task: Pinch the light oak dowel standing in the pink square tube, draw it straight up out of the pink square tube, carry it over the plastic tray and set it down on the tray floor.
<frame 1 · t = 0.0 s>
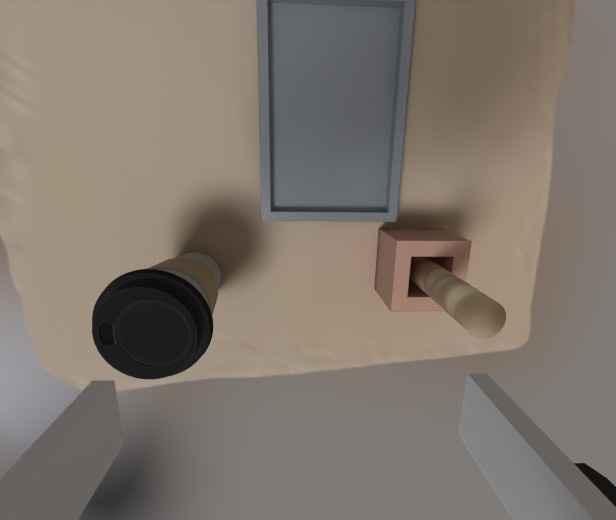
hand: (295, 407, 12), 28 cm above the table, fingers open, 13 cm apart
coffee cup: (198, 274, 40), on the table
pink square tube: (407, 259, 41), on the table
tray: (330, 117, 36), on the table
dowel: (409, 261, 40), point 1 cm above the table, touching pink square tube
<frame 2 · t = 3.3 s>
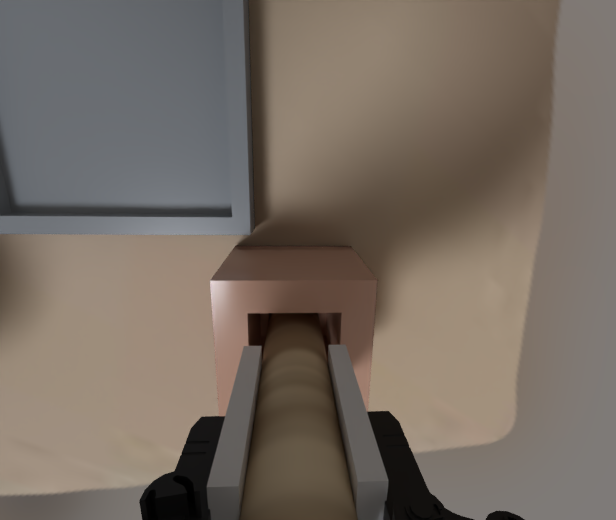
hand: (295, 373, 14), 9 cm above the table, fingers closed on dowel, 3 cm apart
pink square tube: (293, 300, 23), on the table
tray: (110, 27, 18), on the table
dowel: (293, 306, 22), point 1 cm above the table, touching gripper
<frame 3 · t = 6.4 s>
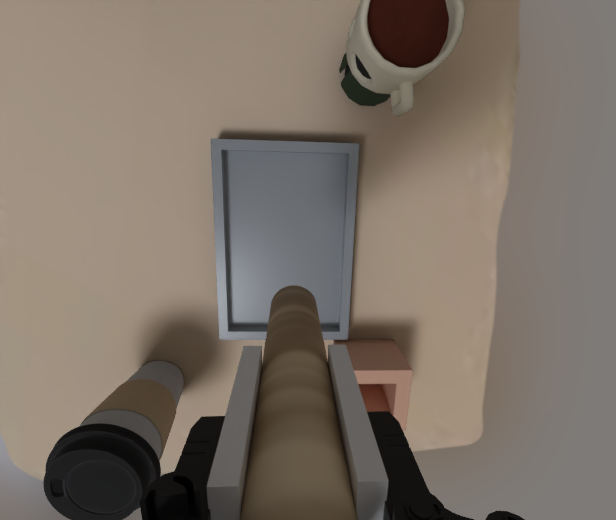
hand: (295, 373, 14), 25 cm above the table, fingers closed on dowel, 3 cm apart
character mug: (368, 75, 35), on the table
coffee cup: (162, 379, 42), on the table
pink square tube: (361, 365, 43), on the table
tray: (285, 243, 38), on the table
dowel: (293, 306, 22), point 17 cm above the table, touching gripper
when the fingers open (9 cm above the table, at t = 9.9 s): dowel drops 2 cm, resting on tray.
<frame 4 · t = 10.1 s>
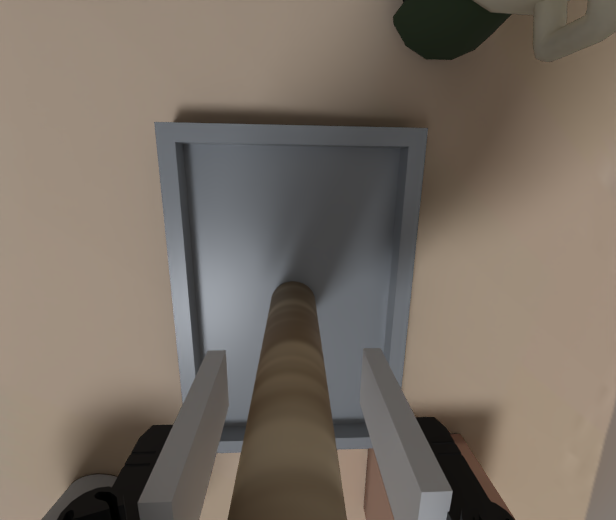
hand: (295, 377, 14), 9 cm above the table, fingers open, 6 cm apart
character mug: (439, 5, 19), on the table
coffee cup: (106, 499, 27), on the table
pink square tube: (410, 471, 28), on the table
tray: (293, 296, 23), on the table
dowel: (293, 302, 22), point 1 cm above the table, touching tray
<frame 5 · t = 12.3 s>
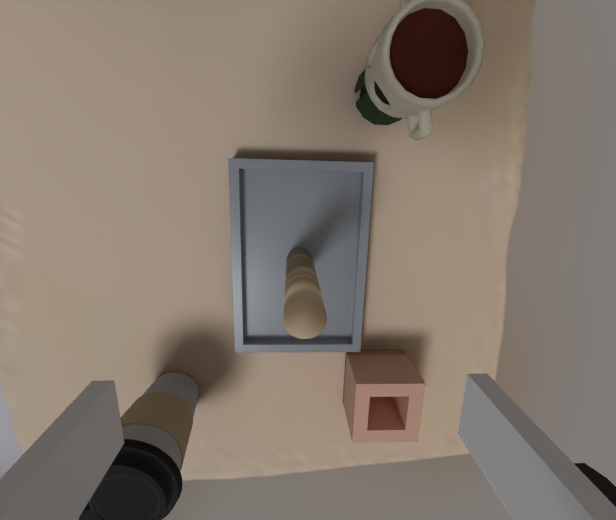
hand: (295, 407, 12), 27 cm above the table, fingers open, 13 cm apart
character mug: (382, 95, 35), on the table
coffee cup: (177, 390, 43), on the table
pink square tube: (372, 376, 44), on the table
tray: (299, 258, 39), on the table
dowel: (299, 260, 38), point 1 cm above the table, touching tray
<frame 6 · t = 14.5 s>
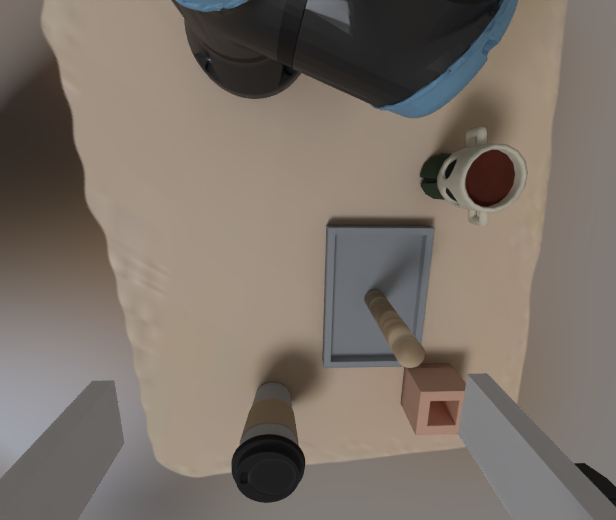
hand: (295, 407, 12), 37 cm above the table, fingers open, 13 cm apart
character mug: (439, 176, 47), on the table
coffee cup: (273, 396, 55), on the table
pink square tube: (424, 383, 56), on the table
tray: (372, 295, 51), on the table
dowel: (374, 298, 50), point 1 cm above the table, touching tray
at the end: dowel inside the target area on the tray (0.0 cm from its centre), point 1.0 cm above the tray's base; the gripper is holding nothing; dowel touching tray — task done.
